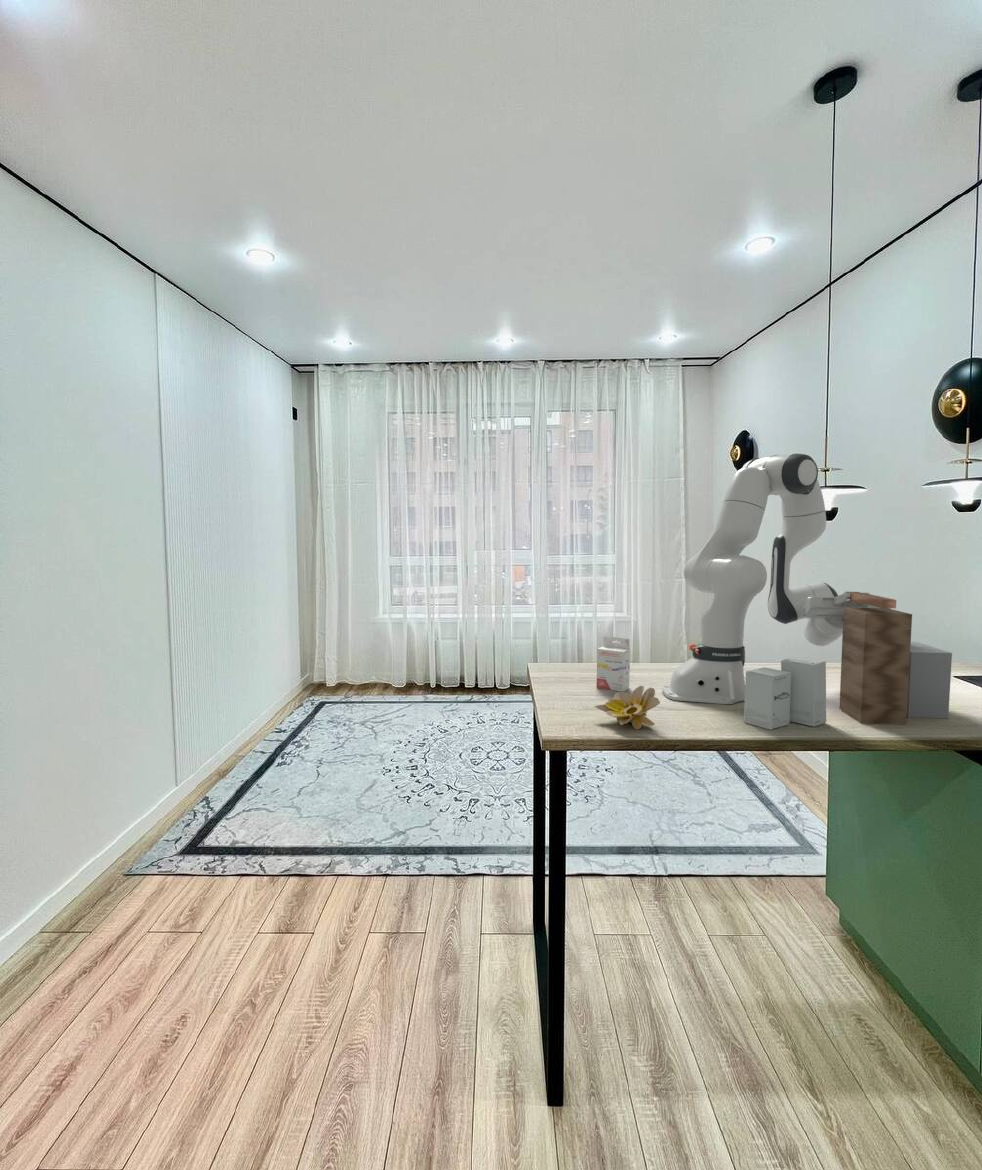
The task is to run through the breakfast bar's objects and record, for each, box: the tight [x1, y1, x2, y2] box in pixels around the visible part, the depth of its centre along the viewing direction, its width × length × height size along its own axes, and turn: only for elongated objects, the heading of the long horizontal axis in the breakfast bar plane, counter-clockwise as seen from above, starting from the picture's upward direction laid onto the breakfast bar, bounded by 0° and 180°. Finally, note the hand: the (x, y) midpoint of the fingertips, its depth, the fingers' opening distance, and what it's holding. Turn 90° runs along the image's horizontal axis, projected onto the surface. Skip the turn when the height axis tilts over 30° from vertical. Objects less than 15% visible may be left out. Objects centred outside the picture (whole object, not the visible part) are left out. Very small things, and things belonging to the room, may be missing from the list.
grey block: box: [907, 641, 953, 719], centre depth 158 cm, size 9×16×16 cm, turn 172°
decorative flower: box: [593, 685, 661, 730], centre depth 148 cm, size 15×11×10 cm
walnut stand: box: [838, 608, 913, 726], centre depth 151 cm, size 10×12×26 cm
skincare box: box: [780, 656, 827, 728], centre depth 148 cm, size 8×6×15 cm
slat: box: [847, 591, 897, 609], centre depth 154 cm, size 3×20×2 cm, turn 172°
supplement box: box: [743, 667, 791, 731], centre depth 146 cm, size 7×7×13 cm
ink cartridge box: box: [596, 635, 631, 692], centre depth 181 cm, size 9×5×15 cm, turn 58°
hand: (857, 595), depth 160 cm, fingers closed on slat, 3 cm apart
